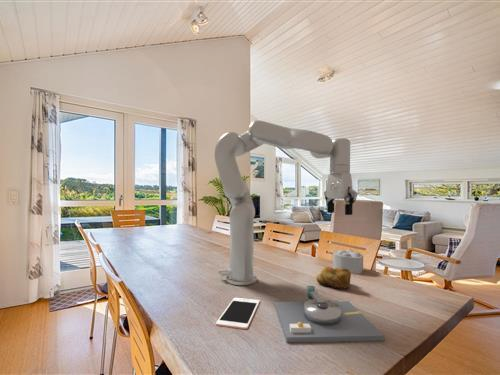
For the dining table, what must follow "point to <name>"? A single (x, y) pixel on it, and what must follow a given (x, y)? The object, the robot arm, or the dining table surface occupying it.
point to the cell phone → (238, 313)
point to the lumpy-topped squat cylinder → (348, 261)
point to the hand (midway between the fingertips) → (339, 213)
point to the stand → (307, 331)
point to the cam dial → (321, 309)
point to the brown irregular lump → (334, 277)
